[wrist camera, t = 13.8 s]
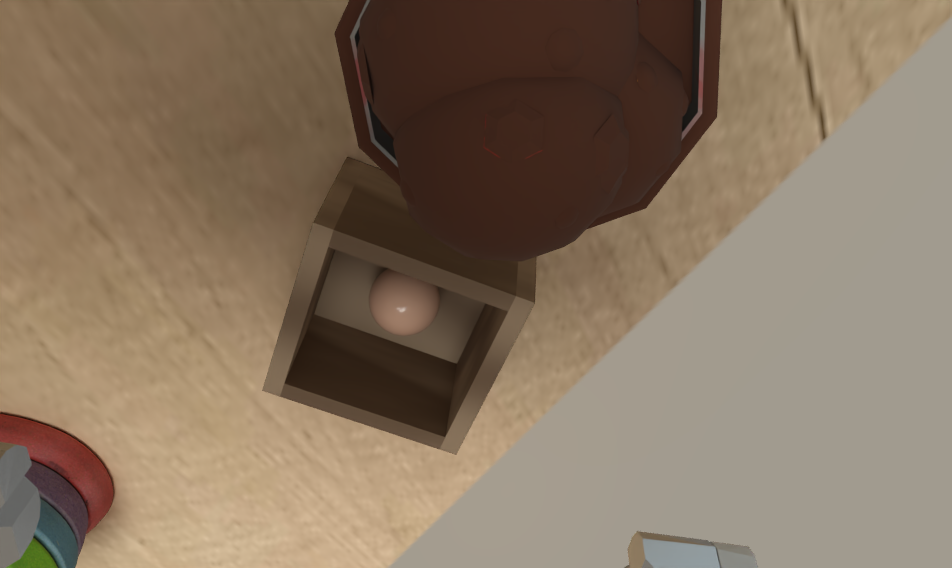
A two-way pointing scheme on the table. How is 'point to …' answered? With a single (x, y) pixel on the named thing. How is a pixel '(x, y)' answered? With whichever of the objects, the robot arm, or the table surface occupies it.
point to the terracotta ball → (403, 303)
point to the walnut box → (379, 352)
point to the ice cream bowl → (528, 110)
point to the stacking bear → (59, 491)
